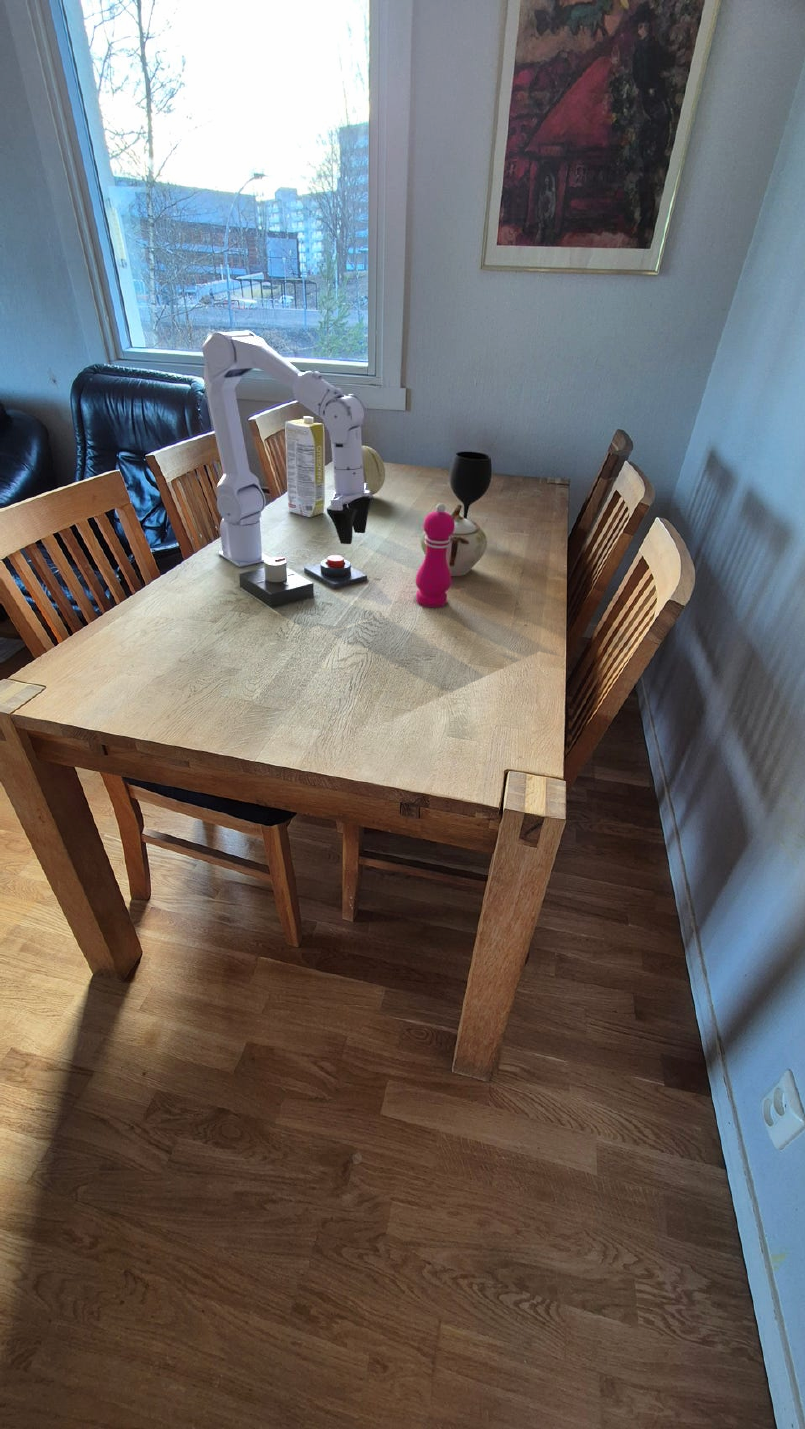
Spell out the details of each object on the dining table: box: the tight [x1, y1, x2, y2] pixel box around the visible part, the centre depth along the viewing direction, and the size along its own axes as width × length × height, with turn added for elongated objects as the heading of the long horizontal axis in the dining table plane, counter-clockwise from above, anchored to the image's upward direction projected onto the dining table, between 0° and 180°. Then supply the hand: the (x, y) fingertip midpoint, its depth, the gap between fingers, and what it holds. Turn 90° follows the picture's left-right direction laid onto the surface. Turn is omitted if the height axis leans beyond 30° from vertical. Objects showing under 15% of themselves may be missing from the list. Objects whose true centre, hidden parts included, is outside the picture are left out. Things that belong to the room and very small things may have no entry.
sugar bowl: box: [420, 503, 488, 577], centre depth 139 cm, size 20×15×15 cm
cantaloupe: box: [362, 445, 386, 496], centre depth 180 cm, size 15×15×15 cm
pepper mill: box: [415, 503, 455, 608], centre depth 122 cm, size 7×7×20 cm
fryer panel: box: [238, 567, 315, 609], centre depth 125 cm, size 12×10×3 cm
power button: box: [326, 554, 345, 567], centre depth 133 cm, size 4×4×2 cm
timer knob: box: [263, 556, 288, 582], centre depth 123 cm, size 4×4×4 cm
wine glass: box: [449, 450, 493, 519], centre depth 157 cm, size 10×10×20 cm
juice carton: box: [284, 415, 326, 518], centre depth 163 cm, size 9×8×24 cm
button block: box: [303, 558, 368, 590], centre depth 134 cm, size 11×9×3 cm
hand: (353, 538), depth 125 cm, fingers open, 7 cm apart
